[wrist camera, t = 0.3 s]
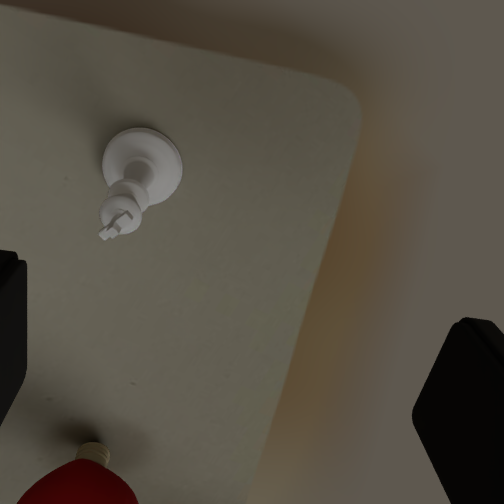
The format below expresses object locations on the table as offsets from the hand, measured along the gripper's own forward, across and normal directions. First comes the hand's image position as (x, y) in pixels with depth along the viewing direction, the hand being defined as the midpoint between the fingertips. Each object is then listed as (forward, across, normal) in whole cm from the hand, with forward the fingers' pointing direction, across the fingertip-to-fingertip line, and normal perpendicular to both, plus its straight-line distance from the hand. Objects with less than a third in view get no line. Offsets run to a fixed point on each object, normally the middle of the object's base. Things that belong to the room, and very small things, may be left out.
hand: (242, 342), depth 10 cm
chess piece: (+21, +5, +3) cm, 22 cm away
